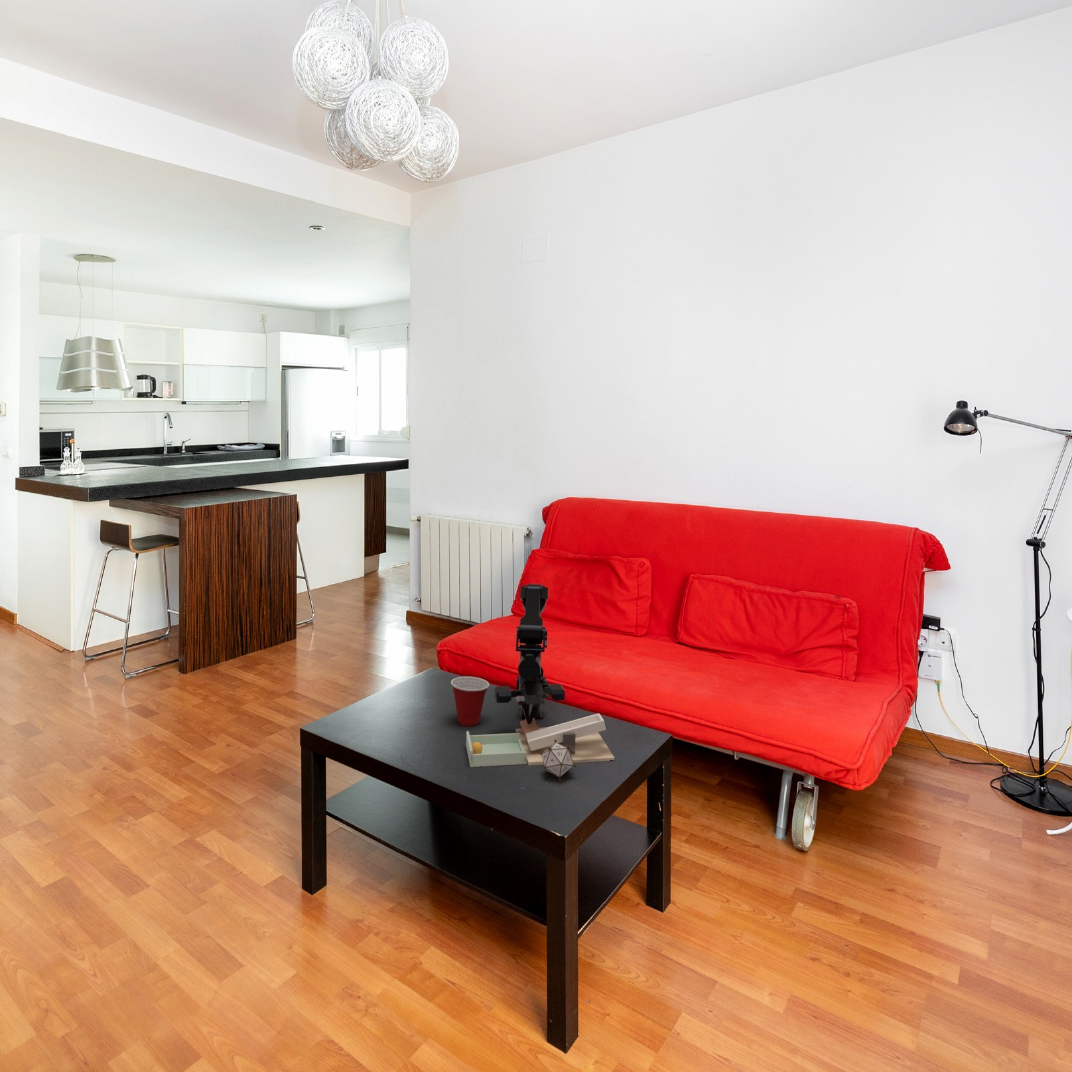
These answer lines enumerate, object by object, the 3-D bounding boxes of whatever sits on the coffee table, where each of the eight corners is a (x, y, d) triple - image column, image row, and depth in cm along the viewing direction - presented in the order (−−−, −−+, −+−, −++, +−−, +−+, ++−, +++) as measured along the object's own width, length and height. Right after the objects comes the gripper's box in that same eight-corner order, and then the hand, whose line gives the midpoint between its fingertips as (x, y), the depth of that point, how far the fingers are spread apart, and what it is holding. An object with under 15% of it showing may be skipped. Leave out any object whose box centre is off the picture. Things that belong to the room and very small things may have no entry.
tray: (466, 746, 189) (466, 731, 189) (519, 743, 192) (519, 728, 191) (470, 767, 178) (470, 750, 177) (526, 763, 180) (526, 747, 180)
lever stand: (515, 731, 200) (516, 710, 199) (593, 727, 204) (594, 707, 203) (528, 765, 179) (528, 742, 178) (614, 760, 183) (615, 737, 182)
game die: (553, 793, 173) (535, 769, 168) (546, 766, 181) (528, 742, 175) (586, 777, 172) (569, 752, 167) (578, 750, 180) (561, 726, 175)
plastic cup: (487, 730, 200) (487, 688, 198) (448, 729, 200) (448, 687, 199) (490, 715, 211) (491, 675, 209) (453, 714, 211) (453, 674, 209)
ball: (482, 740, 185) (481, 751, 186) (470, 739, 185) (469, 750, 185) (483, 745, 182) (482, 756, 183) (472, 744, 182) (470, 756, 182)
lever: (520, 724, 200) (518, 716, 200) (589, 705, 203) (587, 697, 203) (531, 751, 184) (528, 741, 183) (606, 729, 187) (604, 720, 186)
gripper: (499, 679, 186) (498, 737, 188) (570, 676, 189) (568, 733, 191) (494, 665, 197) (493, 720, 199) (561, 663, 200) (560, 717, 202)
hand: (529, 723), depth 198 cm, fingers closed
